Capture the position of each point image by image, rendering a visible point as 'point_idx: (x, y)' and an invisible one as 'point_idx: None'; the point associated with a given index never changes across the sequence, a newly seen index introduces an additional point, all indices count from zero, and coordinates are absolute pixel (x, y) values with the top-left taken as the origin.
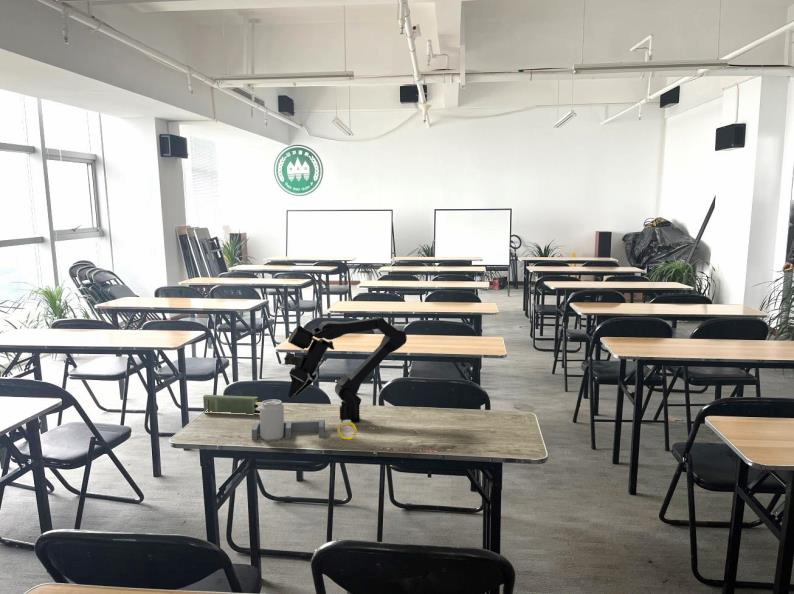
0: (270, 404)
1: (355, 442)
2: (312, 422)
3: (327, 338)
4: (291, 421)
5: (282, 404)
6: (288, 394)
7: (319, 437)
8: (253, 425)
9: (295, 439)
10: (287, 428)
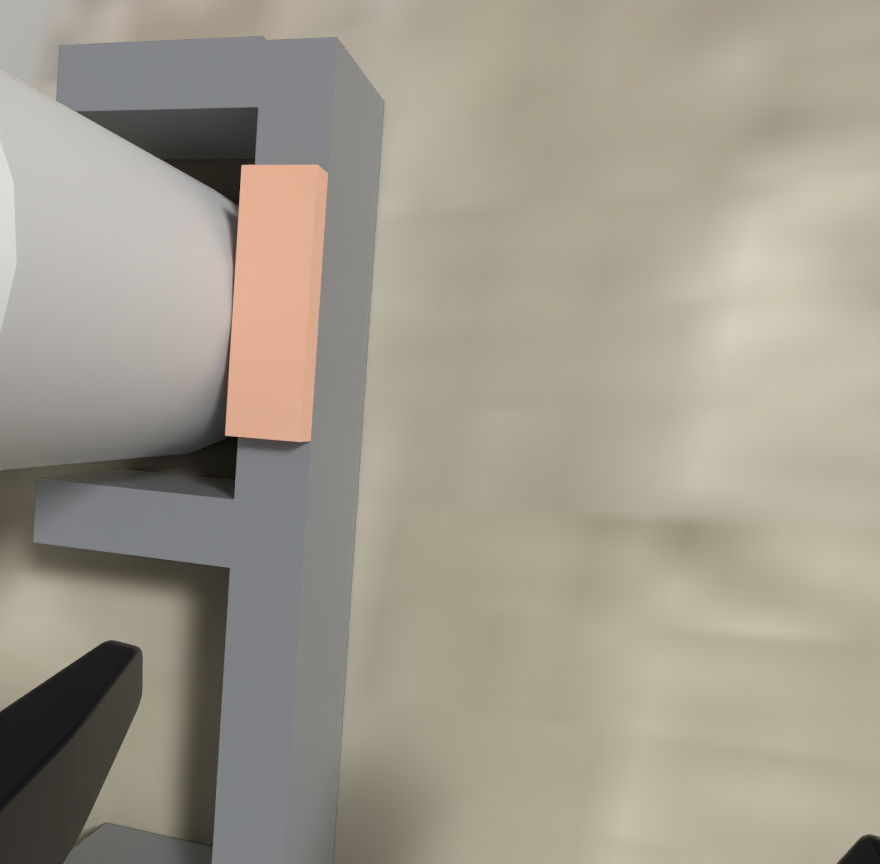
0: (32, 204)
1: None
2: (215, 850)
3: None
4: (281, 571)
5: None
6: (74, 662)
7: (104, 827)
8: (210, 44)
9: (98, 571)
10: (37, 503)
